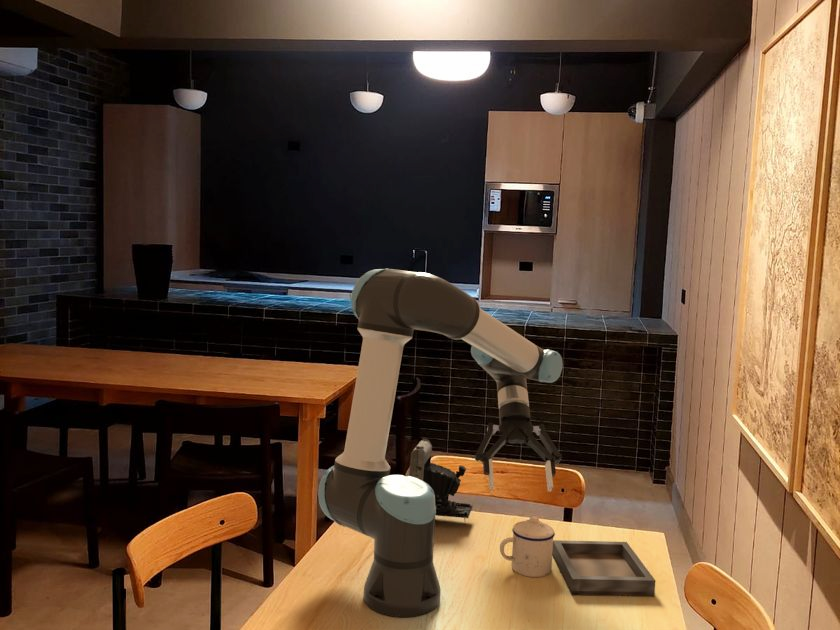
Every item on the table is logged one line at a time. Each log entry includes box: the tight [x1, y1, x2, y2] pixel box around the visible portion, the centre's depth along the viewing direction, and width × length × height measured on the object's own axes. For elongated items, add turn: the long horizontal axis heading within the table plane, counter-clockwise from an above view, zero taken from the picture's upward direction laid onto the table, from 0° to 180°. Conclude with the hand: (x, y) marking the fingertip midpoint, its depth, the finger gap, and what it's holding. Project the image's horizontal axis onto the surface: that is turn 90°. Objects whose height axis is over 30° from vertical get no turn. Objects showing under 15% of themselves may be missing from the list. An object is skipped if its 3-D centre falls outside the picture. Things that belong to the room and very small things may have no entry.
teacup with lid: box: [499, 515, 556, 578], centre depth 164 cm, size 12×9×12 cm
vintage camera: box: [408, 438, 474, 521], centre depth 188 cm, size 10×15×20 cm, turn 78°
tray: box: [552, 539, 656, 598], centre depth 163 cm, size 17×19×4 cm
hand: (521, 488), depth 173 cm, fingers open, 13 cm apart
